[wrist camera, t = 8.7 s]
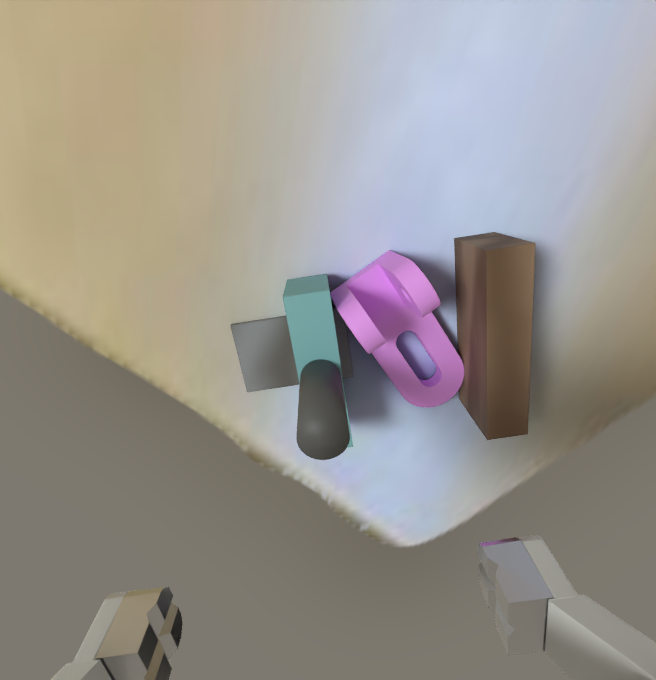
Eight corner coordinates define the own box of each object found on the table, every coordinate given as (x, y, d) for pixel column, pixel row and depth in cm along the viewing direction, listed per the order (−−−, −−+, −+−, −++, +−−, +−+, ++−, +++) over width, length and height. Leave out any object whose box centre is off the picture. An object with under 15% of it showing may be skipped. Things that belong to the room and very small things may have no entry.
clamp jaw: (326, 273, 30) (335, 326, 19) (347, 411, 34) (364, 520, 23) (287, 279, 30) (272, 336, 19) (312, 416, 34) (313, 527, 23)
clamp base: (494, 232, 30) (535, 242, 25) (493, 394, 35) (527, 434, 30) (219, 274, 31) (198, 295, 25) (257, 429, 36) (247, 474, 30)
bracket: (329, 293, 31) (341, 317, 24) (389, 250, 30) (418, 262, 24) (414, 411, 35) (443, 458, 29) (468, 375, 35) (511, 415, 28)
